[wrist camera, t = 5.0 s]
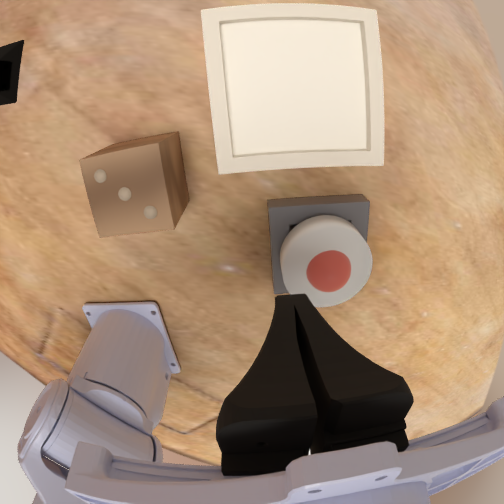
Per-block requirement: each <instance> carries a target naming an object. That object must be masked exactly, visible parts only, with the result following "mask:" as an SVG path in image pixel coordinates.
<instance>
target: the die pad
mask: <svg viewBox="0 0 504 504" xmlns="http://www.w3.org/2000/svg"><path fill="white" fill-rule="evenodd" d="M201 17H202V28H203V38H204V49H205V59H206V69H207V78H208V88H209V97H210V106H211V115H212V124H213V132H214V141H215V149H216V157H217V165H218V173H219V175H220V174H229V173H240V172H251V171H263V170H277V169H292V168H311V167H336V166H384V91H383V71H382V57H381V46H380V36H379V27H378V19H377V12H376V10H373V9H366V8H359V7H350V6H340V5H327V4H307V3H271V4H251V5H238V6H228V7H220V8H212V9H205V10H201Z"/></svg>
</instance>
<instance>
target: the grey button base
mask: <svg viewBox="0 0 504 504" xmlns="http://www.w3.org/2000/svg"><path fill="white" fill-rule="evenodd" d="M267 202H268V216H269V231H270V246H271V262H272V278H273V288H274V294H283V293H289V292H288V290H287V289H286V287H285V284H284V281H283V276H282V270H281V264H280V251H281V247H282V244H283V242H284V240H285V238H286V236H287V235H288V234H289V232H290V231H291V230H292V229H293V228H294V227H295V226H297V225H298V224H299V223H301V222H303V221H304V220H306V219H309V218H312V217H315V216H321V215H332V216H337V217H341V218H343V219H345V220H347V221H349V222H350V223H351V224H352V225H354V227H355V228H356V229H357V230H358V232H359V233H360V234H361V236H362V237H363V238H364V240H365V241H366V243H367V233H368V221H369V207H370V201H369V200H368V199H367V198H366V197H365V196H363V195H362V194H356V195H335V196H316V197H300V198H286V199H272V200H267Z"/></svg>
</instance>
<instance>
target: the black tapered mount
mask: <svg viewBox="0 0 504 504" xmlns="http://www.w3.org/2000/svg"><path fill="white" fill-rule="evenodd" d="M23 45H24V40H21V41H18V42H14V43H11V44H8V45H5V46H2V47H0V105H4V104H11V103H16V102H17V91H18V81H19V72H20V64H21V57H22V51H23Z"/></svg>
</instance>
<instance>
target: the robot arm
mask: <svg viewBox="0 0 504 504" xmlns="http://www.w3.org/2000/svg"><path fill="white" fill-rule="evenodd" d="M82 309H83V311H84V313H85V315H86V318H87V320H88V322H89V324H90V326H91V328H92V330H91V332H90V334H89V336H88V338H87V340H86V342H85V344H84V346H83V348H82V350H81V352H80V354H79V356H78V358H77V360H76V362H75V364H74V366H73V368H72V370H71V372H70V374H69V377H68V379H67V381H64V380H63V379H58V380H52V381H50V382H49V383H48V384H47V385H46V387H45V388H44V389H43V391H42V392H41V394H40V395H39V397H38V399H37V400H36V402H35V404H34V406H33V408H32V410H31V412H30V414H29V417H28V419H27V421H26V424H25V428H24V432H23V434H22V436H21V438H20V441H19V443H18V460H19V463H20V466H21V468H22V469H23V471H24V473H25V474H26V476H27V478H28V479H29V481H30V482H31V484H32V485H33V487H34V489H35V490H36V492H37V494H36V496H35V498H34V501H33V503H32V504H431V502H430V499H429V496H430V495H433V494H435V493H437V492H439V491H442V490H444V489H446V488H448V487H450V486H452V485H454V484H456V483H458V482H460V481H462V480H464V479H466V478H468V477H470V476H472V475H473V474H475V473H477V472H479V471H481V470H483V469H484V468H486V467H488V466H490V465H491V464H493V463H495V462H496V461H498V460H500V459H501V458H503V457H504V396H503V397H501V398H499V399H497V400H496V401H494V402H493V403H492V404H491V405H490V406H489V407H488V409H487V410H486V412H484V413H482V414H480V415H477V416H475V417H473V418H470V419H468V420H466V421H463V422H461V423H458V424H456V425H453V426H450V427H448V428H445V429H442V430H440V431H437V432H434V433H431V434H428V435H425V436H422V437H419V438H416V439H412V440H409V441H408V439H407V436H406V433H405V430H404V429H406V423H405V420H404V418H405V417H406V415H407V413H408V412H409V410H410V408H411V406H412V404H413V396H412V393H411V391H410V389H409V387H408V385H407V383H406V382H405V380H404V378H403V377H401V376H399V375H397V374H395V373H393V372H391V371H388V370H386V369H384V368H382V367H381V366H379V365H377V364H375V363H374V362H372V361H371V360H369V359H368V358H366V357H365V356H363V355H362V354H360V353H359V352H358V351H356V350H355V349H354V348H353V347H351V346H350V345H349V344H348V343H347V342H346V341H344V340H343V339H342V338H341V337H340V336H339V335H338V334H337V333H336V332H335V331H334V330H333V329H332V327H331V326H330V325H329V324H328V323H327V322H326V321H325V319H324V318H323V317H322V316H321V315H320V313H319V312H318V311H317V309H316V308H315V307H314V305H313V304H312V302H311V301H310V299H309V298H308V296H307V295H306V294H305V293H304V294H291V295H278V296H277V297H275V310H274V315H273V319H272V322H271V326H270V329H269V332H268V334H267V337H266V339H265V342H264V344H263V346H262V348H261V350H260V352H259V354H258V356H257V358H256V359H255V361H254V363H253V364H252V366H251V368H250V369H249V371H248V372H247V373H246V375H245V376H244V377H243V379H242V380H241V381H240V383H239V384H238V385H237V386H236V387H235V388H234V390H233V391H232V392H231V393H230V394H229V395H228V396H227V397H226V398H225V400H224V402H223V405H222V407H221V410H220V413H219V416H218V420H217V425H216V440H217V442H218V445H219V447H220V450H221V452H222V460H221V466H200V465H184V464H171V463H163V453H162V446H161V443H160V441H159V439H158V438H157V437H156V436H154V435H152V430H153V429H154V428H155V427H156V426H157V425H158V424H159V422H160V421H161V419H162V416H163V411H164V406H165V402H166V397H167V392H168V387H169V382H170V378H171V373H180V370H181V368H180V366H179V363H178V360H177V358H176V355H175V352H174V350H173V347H172V344H171V342H170V339H169V336H168V333H167V330H166V328H165V325H164V322H163V319H162V316H161V313H160V310H159V307H158V305H157V304H156V303H155V302H129V303H86V304H84V305H83V307H82ZM153 311H155V312H153ZM309 450H310V454H311V455H308V454H309ZM45 456H46V457H47V458H46V457H45ZM48 458H49V459H51V460H53V461H54V462H53V461H51V460H49V459H48ZM55 462H56V463H58V464H60V465H61V466H60V465H58V464H56V463H55ZM62 466H63V467H62ZM64 467H65V468H64ZM66 468H67V469H69V470H67V469H66Z"/></svg>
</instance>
